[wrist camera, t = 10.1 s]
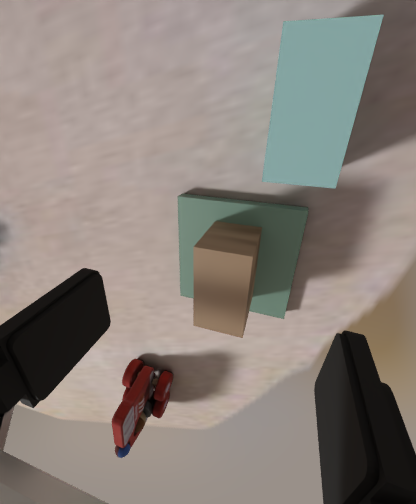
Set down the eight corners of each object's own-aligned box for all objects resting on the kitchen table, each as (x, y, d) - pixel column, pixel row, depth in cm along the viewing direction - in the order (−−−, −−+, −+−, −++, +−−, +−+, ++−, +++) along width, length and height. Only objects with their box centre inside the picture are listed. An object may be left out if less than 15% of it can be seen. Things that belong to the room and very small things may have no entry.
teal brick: (286, 52, 17) (283, 21, 12) (355, 49, 16) (383, 14, 11) (269, 168, 21) (261, 181, 16) (325, 173, 20) (335, 188, 15)
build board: (182, 193, 25) (177, 196, 24) (307, 207, 21) (308, 211, 20) (184, 289, 30) (180, 295, 29) (284, 311, 27) (283, 318, 26)
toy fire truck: (135, 390, 45) (96, 455, 36) (136, 346, 39) (89, 411, 30) (169, 406, 43) (137, 477, 35) (176, 362, 37) (139, 435, 28)
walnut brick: (215, 220, 23) (193, 246, 18) (262, 227, 22) (252, 256, 17) (212, 288, 27) (193, 325, 22) (252, 296, 26) (242, 338, 21)
